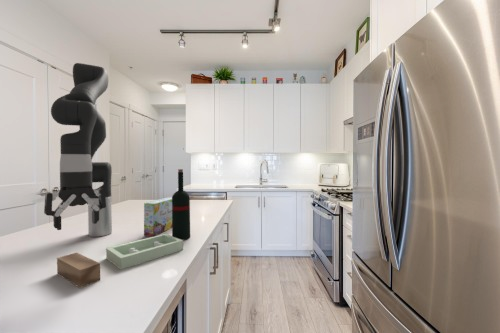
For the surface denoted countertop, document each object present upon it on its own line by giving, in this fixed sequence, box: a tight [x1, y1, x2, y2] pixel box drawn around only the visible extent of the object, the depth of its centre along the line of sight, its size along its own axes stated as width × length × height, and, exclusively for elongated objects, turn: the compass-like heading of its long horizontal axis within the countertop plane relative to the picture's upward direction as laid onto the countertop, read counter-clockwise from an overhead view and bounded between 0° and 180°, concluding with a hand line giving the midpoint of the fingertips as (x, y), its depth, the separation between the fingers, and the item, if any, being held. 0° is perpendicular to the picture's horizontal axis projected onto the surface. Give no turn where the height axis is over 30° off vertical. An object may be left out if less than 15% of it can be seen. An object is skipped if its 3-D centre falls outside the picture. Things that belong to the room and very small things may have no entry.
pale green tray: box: [105, 233, 184, 270], centre depth 86 cm, size 13×22×4 cm, turn 138°
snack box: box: [143, 196, 172, 238], centre depth 116 cm, size 21×6×15 cm, turn 168°
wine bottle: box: [171, 168, 191, 241], centre depth 105 cm, size 8×10×30 cm
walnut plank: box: [56, 252, 101, 289], centre depth 69 cm, size 5×15×5 cm, turn 57°
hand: (77, 226), depth 69 cm, fingers open, 8 cm apart
